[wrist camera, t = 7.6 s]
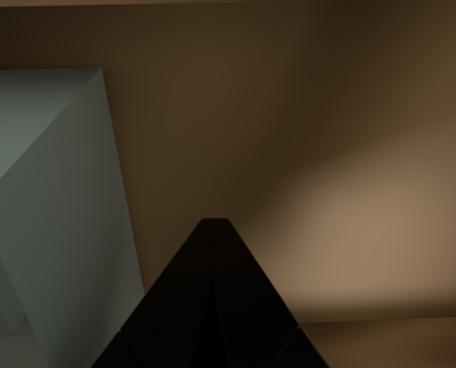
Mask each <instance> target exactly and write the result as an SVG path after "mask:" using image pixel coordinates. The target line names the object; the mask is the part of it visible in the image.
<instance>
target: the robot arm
mask: <svg viewBox="0 0 456 368" xmlns="http://www.w3.org/2000/svg"><path fill="white" fill-rule="evenodd" d="M90 368H331V367H330V366H329V365H328V363H327V362H326V361H325V359H324V358H323V356H322V355H321V354H320V352H319V351H318V350H317V348H316V347H315V345H314V344H313V342H312V341H311V339H310V338H309V337H308V335H307V334H306V332H305V331H304V329H303V328H300V324H299V322H298V321H297V319H296V318H295V316H294V315H293V313H292V312H291V310H290V309H289V307H288V306H287V304H286V303H285V301H284V300H283V298H282V297H281V295H280V294H279V293H278V291H277V290H276V288H275V287H274V285H273V284H272V282H271V281H270V279H269V278H268V276H267V275H266V273H265V272H264V270H263V269H262V267H261V266H260V264H259V263H258V261H257V260H256V259H255V257H254V256H253V254H252V253H251V251H250V250H249V248H248V247H247V245H246V244H245V242H244V241H243V239H242V238H241V236H240V235H239V233H238V232H237V230H236V229H235V228H234V226H233V225H232V223H231V222H230V220H229V219H228V218H202V219H201V220H200V221H199V222H198V224H197V225H196V226H195V228H194V229H193V231H192V232H191V233H190V235H189V236H188V237H187V239H186V240H185V241H184V243H183V244H182V245H181V247H180V248H179V249H178V251H177V252H176V253H175V255H174V256H173V258H172V259H171V260H170V262H169V263H168V264H167V266H166V267H165V268H164V270H163V271H162V272H161V274H160V275H159V276H158V278H157V279H156V280H155V282H154V283H153V285H152V286H151V287H150V289H149V290H148V291H147V293H146V294H145V295H144V297H143V298H142V299H141V301H140V302H139V303H138V305H137V306H136V307H135V309H134V310H133V312H132V313H131V314H130V316H129V317H128V318H127V320H126V321H125V322H124V324H123V325H122V326H121V328H120V331H118V332H117V333H116V334H115V335H114V337H113V338H112V340H111V341H110V342H109V344H108V345H107V346H106V348H105V349H104V350H103V352H102V353H101V354H100V355H99V357H98V358H97V359H96V361H95V362H94V363H93V364H92V366H91V367H90Z"/></svg>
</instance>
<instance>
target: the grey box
mask: <svg viewBox="0 0 456 368" xmlns="http://www.w3.org/2000/svg"><path fill="white" fill-rule="evenodd" d="M143 297H144V289H143V284H142V279H141V273H140V268H139V263H138V258H137V252H136V247H135V242H134V237H133V231H132V226H131V221H130V216H129V210H128V205H127V200H126V195H125V189H124V184H123V179H122V173H121V168H120V163H119V158H118V152H117V147H116V142H115V137H114V131H113V126H112V121H111V116H110V110H109V105H108V100H107V95H106V89H105V84H104V79H103V73H102V68H101V67H98V68H55V69H12V70H0V368H90V367H91V366H92V364H93V363H94V362H95V361H96V359H97V358H98V357H99V355H100V354H101V353H102V352H103V350H104V349H105V348H106V346H107V345H108V344H109V342H110V341H111V340H112V338H113V337H114V335H115V334H116V333H117V332H118V331H120V328H121V326H122V325H123V324H124V322H125V321H126V320H127V318H128V317H129V316H130V314H131V313H132V312H133V310H134V309H135V307H136V306H137V305H138V303H139V302H140V301H141V299H142V298H143Z"/></svg>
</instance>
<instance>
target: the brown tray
mask: <svg viewBox="0 0 456 368" xmlns="http://www.w3.org/2000/svg"><path fill="white" fill-rule="evenodd" d="M98 67H101V68H102V73H103V79H104V84H105V89H106V95H107V100H108V105H109V110H110V116H111V121H112V126H113V131H114V137H115V142H116V147H117V152H118V158H119V163H120V168H121V173H122V179H123V184H124V189H125V195H126V200H127V205H128V210H129V216H130V221H131V226H132V231H133V237H134V242H135V247H136V252H137V258H138V263H139V268H140V273H141V279H142V284H143V289H144V295H145V294H146V293H147V291H148V290H149V289H150V287H151V286H152V285H153V283H154V282H155V280H156V279H157V278H158V276H159V275H160V274H161V272H162V271H163V270H164V268H165V267H166V266H167V264H168V263H169V262H170V260H171V259H172V258H173V256H174V255H175V253H176V252H177V251H178V249H179V248H180V247H181V245H182V244H183V243H184V241H185V240H186V239H187V237H188V236H189V235H190V233H191V232H192V231H193V229H194V228H195V226H196V225H197V224H198V222H199V221H200V220H201V219H202V218H228V219H229V220H230V222H231V223H232V225H233V226H234V228H235V229H236V230H237V232H238V233H239V235H240V236H241V238H242V239H243V241H244V242H245V244H246V245H247V247H248V248H249V250H250V251H251V253H252V254H253V256H254V257H255V259H256V260H257V261H258V263H259V264H260V266H261V267H262V269H263V270H264V272H265V273H266V275H267V276H268V278H269V279H270V281H271V282H272V284H273V285H274V287H275V288H276V290H277V291H278V293H279V294H280V295H281V297H282V298H283V300H284V301H285V303H286V304H287V306H288V307H289V309H290V310H291V312H292V313H293V315H294V316H295V318H296V319H297V321H298V322H299V324H300V328H303V329H304V331H305V332H306V334H307V335H308V337H309V338H310V339H311V341H312V342H313V344H314V345H315V347H316V348H317V350H318V351H319V352H320V354H321V355H322V356H323V358H324V359H325V361H326V362H327V363H328V365H329V366H330V367H331V368H456V0H0V70H12V69H55V68H98Z"/></svg>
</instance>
